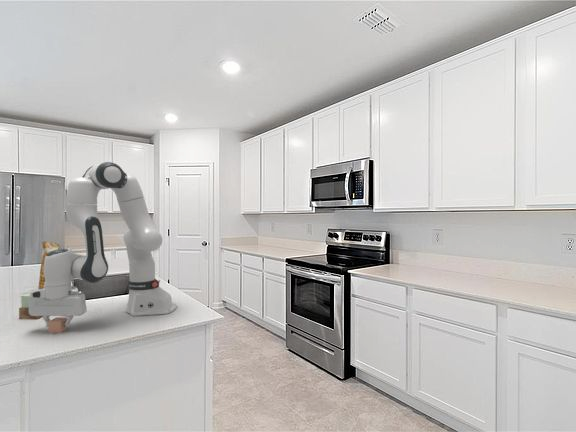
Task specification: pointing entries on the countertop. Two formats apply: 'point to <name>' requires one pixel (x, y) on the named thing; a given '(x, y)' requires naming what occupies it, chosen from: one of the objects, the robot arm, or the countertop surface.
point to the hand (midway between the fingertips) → (58, 326)
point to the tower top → (25, 301)
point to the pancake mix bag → (46, 249)
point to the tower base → (26, 314)
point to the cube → (57, 325)
